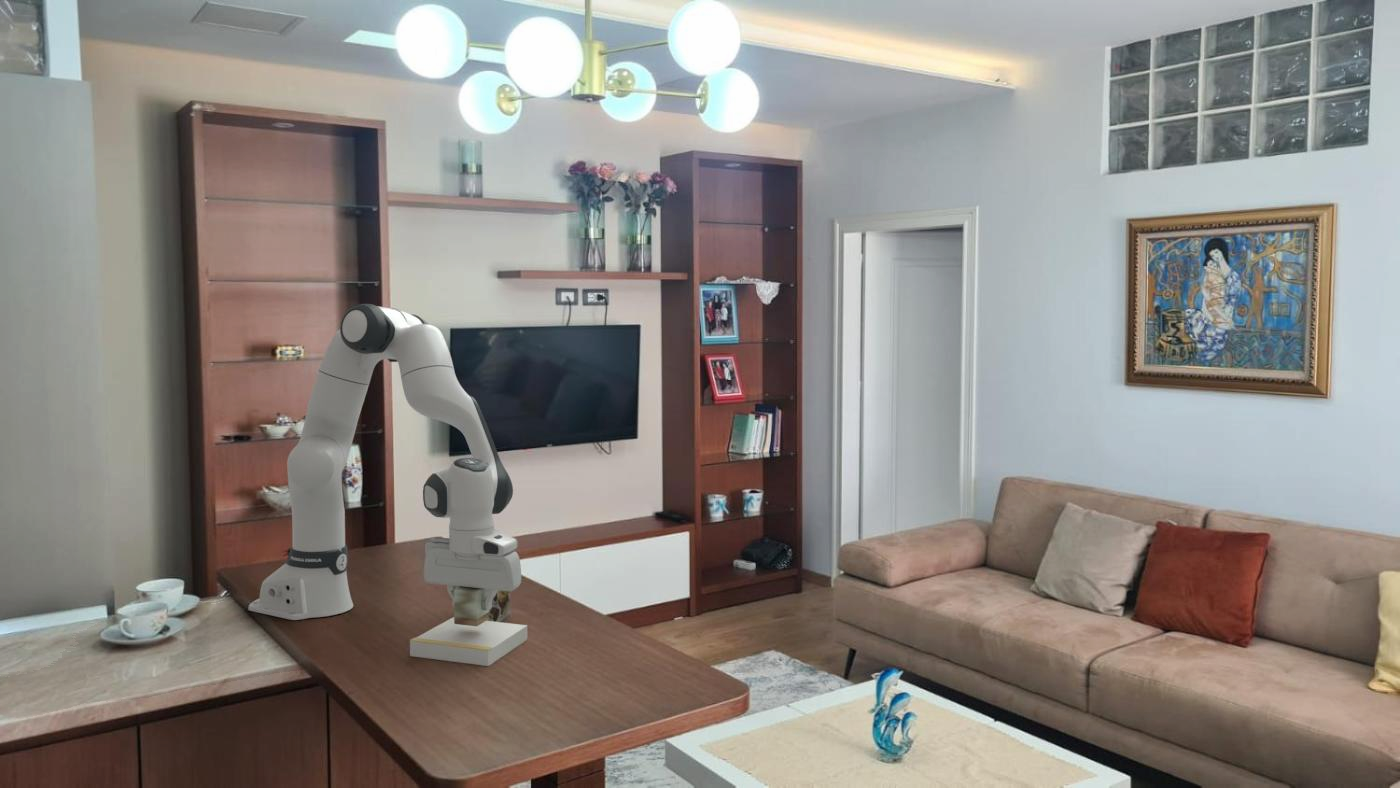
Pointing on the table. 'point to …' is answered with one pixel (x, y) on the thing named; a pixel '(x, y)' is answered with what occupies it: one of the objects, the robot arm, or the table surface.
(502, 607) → the coffee box
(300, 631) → the table surface
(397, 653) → the table surface
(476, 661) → the block
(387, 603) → the table surface
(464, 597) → the pale green block
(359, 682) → the table surface
